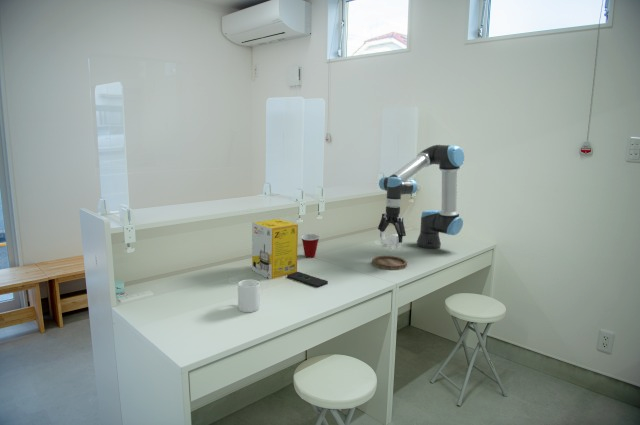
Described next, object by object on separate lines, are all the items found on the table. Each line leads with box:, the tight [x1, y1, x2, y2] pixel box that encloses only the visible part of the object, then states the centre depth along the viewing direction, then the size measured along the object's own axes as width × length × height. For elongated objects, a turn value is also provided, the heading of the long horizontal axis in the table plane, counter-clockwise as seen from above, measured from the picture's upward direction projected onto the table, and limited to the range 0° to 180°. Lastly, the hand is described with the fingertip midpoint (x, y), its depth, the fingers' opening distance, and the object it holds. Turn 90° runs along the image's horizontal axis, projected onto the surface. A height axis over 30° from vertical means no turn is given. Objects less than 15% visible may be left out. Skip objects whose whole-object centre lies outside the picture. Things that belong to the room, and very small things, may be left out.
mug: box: [237, 279, 261, 313], centre depth 171 cm, size 9×12×11 cm
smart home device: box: [286, 271, 329, 289], centre depth 204 cm, size 8×2×20 cm
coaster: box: [371, 255, 408, 271], centre depth 233 cm, size 18×18×2 cm
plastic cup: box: [300, 233, 320, 259], centre depth 242 cm, size 11×11×12 cm
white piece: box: [380, 233, 398, 251], centre depth 230 cm, size 6×8×12 cm
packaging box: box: [251, 218, 299, 280], centre depth 213 cm, size 16×16×25 cm
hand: (390, 245), depth 231 cm, fingers closed on white piece, 12 cm apart
